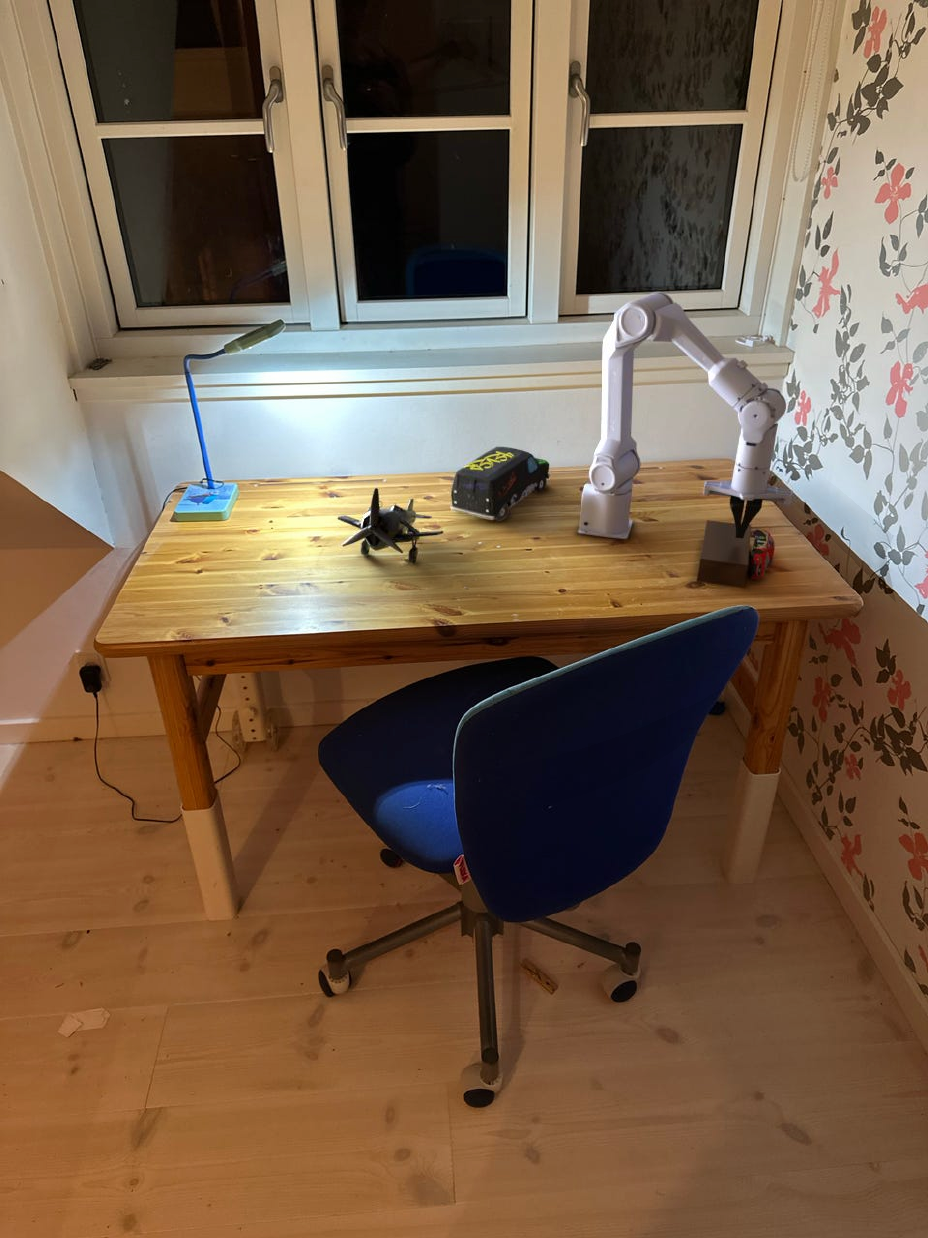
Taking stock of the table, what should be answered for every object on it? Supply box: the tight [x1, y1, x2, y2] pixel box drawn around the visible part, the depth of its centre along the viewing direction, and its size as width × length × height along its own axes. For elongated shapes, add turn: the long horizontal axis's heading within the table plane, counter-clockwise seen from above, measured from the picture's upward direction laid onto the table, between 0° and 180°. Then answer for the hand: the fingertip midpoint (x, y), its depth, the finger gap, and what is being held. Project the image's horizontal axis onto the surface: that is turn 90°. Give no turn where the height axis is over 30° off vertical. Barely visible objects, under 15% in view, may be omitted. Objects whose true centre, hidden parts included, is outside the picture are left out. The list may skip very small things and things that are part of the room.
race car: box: [747, 528, 776, 580], centre depth 149 cm, size 13×5×4 cm
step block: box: [696, 519, 752, 588], centre depth 151 cm, size 8×16×4 cm, turn 162°
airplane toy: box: [337, 487, 444, 565], centre depth 153 cm, size 20×19×15 cm
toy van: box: [450, 446, 551, 522], centre depth 174 cm, size 11×25×10 cm, turn 148°
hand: (739, 535), depth 148 cm, fingers closed
